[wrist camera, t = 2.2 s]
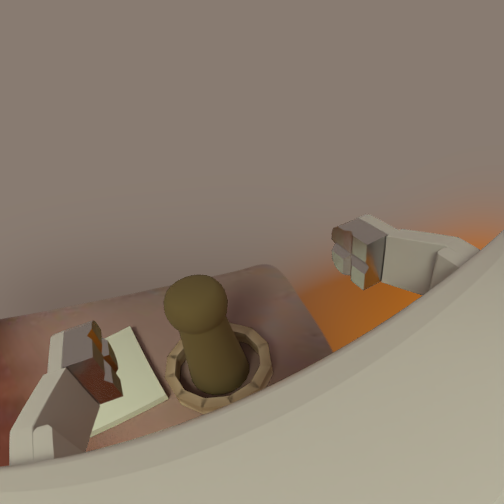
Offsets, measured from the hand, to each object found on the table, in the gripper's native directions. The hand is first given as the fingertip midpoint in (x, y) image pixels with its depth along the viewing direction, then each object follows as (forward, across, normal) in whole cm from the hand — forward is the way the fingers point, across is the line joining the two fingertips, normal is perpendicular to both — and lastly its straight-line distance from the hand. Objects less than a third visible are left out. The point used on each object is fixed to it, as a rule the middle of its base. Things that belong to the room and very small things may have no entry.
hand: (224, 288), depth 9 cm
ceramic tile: (+16, +13, +19) cm, 28 cm away
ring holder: (+12, 0, +19) cm, 23 cm away
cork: (+12, 0, +20) cm, 23 cm away
